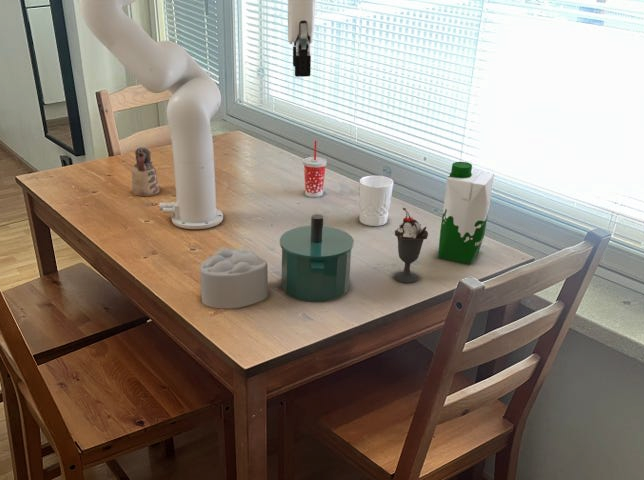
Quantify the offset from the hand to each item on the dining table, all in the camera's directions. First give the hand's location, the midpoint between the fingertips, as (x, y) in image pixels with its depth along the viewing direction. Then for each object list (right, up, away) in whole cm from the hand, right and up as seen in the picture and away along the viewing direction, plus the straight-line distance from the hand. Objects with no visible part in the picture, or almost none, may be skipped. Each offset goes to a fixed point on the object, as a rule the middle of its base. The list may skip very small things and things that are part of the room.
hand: (301, 71), depth 153 cm
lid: (+2, -38, -10) cm, 40 cm away
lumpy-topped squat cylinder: (-14, -48, -8) cm, 51 cm away
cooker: (+2, -46, -5) cm, 46 cm away
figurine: (-39, -16, +41) cm, 59 cm away
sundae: (+22, -44, -3) cm, 49 cm away
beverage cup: (+6, -17, +38) cm, 42 cm away
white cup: (+19, -28, +23) cm, 40 cm away
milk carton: (+35, -38, +6) cm, 52 cm away
